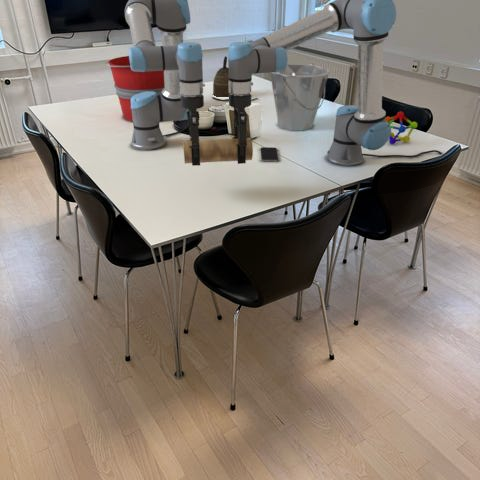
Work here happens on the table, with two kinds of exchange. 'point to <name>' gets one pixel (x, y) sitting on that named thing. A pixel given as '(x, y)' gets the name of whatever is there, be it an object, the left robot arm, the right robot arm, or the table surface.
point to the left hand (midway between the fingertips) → (195, 160)
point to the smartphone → (269, 154)
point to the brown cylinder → (217, 150)
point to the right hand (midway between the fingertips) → (239, 158)
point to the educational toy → (400, 128)
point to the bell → (221, 81)
